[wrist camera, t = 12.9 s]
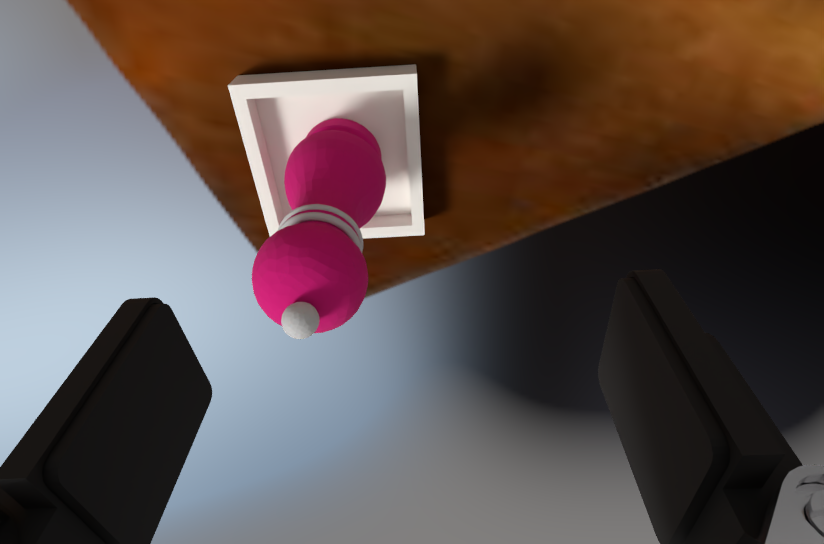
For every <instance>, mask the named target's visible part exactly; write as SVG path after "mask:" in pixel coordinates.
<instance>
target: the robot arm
mask: <svg viewBox="0 0 824 544" xmlns="http://www.w3.org/2000/svg"><path fill="white" fill-rule="evenodd" d="M598 377H599V383H600V386H601V389H602V391H603V394H604V397H605V399H606V402H607V405H608V407H609V410H610V413H611V415H612V418H613V421H614V424H615V426H616V429H617V432H618V434H619V437H620V440H621V442H622V445H623V448H624V450H625V453H626V456H627V458H628V461H629V464H630V467H631V469H632V472H633V475H634V477H635V480H636V483H637V485H638V488H639V491H640V493H641V496H642V499H643V501H644V504H645V507H646V509H647V512H648V515H649V517H650V520H651V523H652V525H653V528H654V531H655V534H656V536H657V538H658V541H659V542H660V544H824V466H821V465H815V464H814V465H805V466H803V465H802V463H801V462H800V461H799V459H798V458H797V456H796V455H795V453H794V452H793V450H792V449H791V447H790V446H789V445H788V443H787V442H786V440H785V438H784V437H783V436H782V434H781V433H780V431H779V430H778V428H777V427H776V426H775V424H774V422H773V421H772V419H771V418H770V416H769V415H768V413H767V412H766V411H765V409H764V408H763V406H762V405H761V403H760V402H759V400H758V399H757V397H756V396H755V394H754V393H753V391H752V390H751V389H750V387H749V386H748V384H747V383H746V381H745V380H744V378H743V377H742V375H741V374H740V372H739V371H738V370H737V368H736V366H735V365H734V364H733V362H732V361H731V359H730V358H729V356H728V355H727V353H726V352H725V350H724V349H723V348H722V346H721V345H720V343H719V342H718V341H717V340H716V338H714V336H712V335H710V334H708V333H704V331H703V329H702V328H701V326H700V325H699V323H698V322H697V320H696V319H695V317H694V316H693V314H692V313H691V311H690V310H689V308H688V307H687V305H686V304H685V302H684V301H683V299H682V298H681V296H680V295H679V293H678V292H677V290H676V289H675V287H674V286H673V284H672V283H671V281H670V280H669V278H668V277H667V275H666V274H665V273H664V271H662V270H660V269H657V270H639V271H630V272H629V273H628V275H627V277H626V278H625V279H620V280H619V281H618V284H617V288H616V292H615V297H614V301H613V306H612V310H611V315H610V319H609V323H608V327H607V332H606V336H605V341H604V345H603V349H602V354H601V359H600V363H599V367H598ZM211 397H212V388H211V385H210V382H209V380H208V379H207V376H206V375H205V373H204V371H203V369H202V367H201V365H200V363H199V361H198V359H197V357H196V355H195V354H194V352H193V350H192V348H191V346H190V344H189V342H188V340H187V338H186V336H185V334H184V332H183V330H182V328H181V326H180V325H179V323H178V321H177V319H176V317H175V315H174V313H173V311H172V309H171V308H170V306H169V305H167V304H163V302H162V301H161V300H160V299H158V298H138V299H129V300H126V301H125V302H124V303H123V304H122V305H121V307H120V308H119V309H118V310H117V312H116V313H115V314H114V316H113V317H112V318H111V320H110V321H109V323H108V324H107V325H106V327H105V328H104V329H103V330H102V332H101V333H100V334H99V336H98V337H97V339H96V340H95V341H94V343H93V344H92V345H91V347H90V348H89V349H88V351H87V352H86V353H85V355H84V356H83V357H82V359H81V360H80V361H79V363H78V364H77V365H76V367H75V368H74V369H73V371H72V372H71V373H70V375H69V376H68V378H67V379H66V380H65V381H64V383H63V384H62V385H61V387H60V388H59V389H58V391H57V392H56V393H55V395H54V396H53V397H52V399H51V400H50V401H49V403H48V404H47V405H46V407H45V408H44V410H43V411H42V412H41V414H40V415H39V416H38V417H37V419H36V420H35V421H34V423H33V424H32V425H31V427H30V428H29V429H28V431H27V432H26V434H25V435H24V436H23V438H22V439H21V440H20V442H19V443H18V445H17V446H16V447H15V448H14V450H13V451H12V452H11V454H10V455H9V456H8V458H7V459H6V460H5V462H4V463H3V464H2V466H1V467H0V544H150V543H151V541H152V538H153V536H154V534H155V531H156V529H157V527H158V524H159V522H160V519H161V517H162V515H163V512H164V510H165V508H166V505H167V503H168V500H169V498H170V496H171V494H172V491H173V488H174V486H175V484H176V482H177V479H178V477H179V475H180V472H181V470H182V468H183V465H184V463H185V460H186V458H187V456H188V453H189V451H190V449H191V446H192V444H193V442H194V439H195V437H196V434H197V432H198V429H199V427H200V425H201V423H202V420H203V418H204V416H205V413H206V411H207V409H208V406H209V404H210V401H211Z"/></svg>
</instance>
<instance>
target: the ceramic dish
mask: <svg viewBox="0 0 824 544" xmlns="http://www.w3.org/2000/svg"><path fill="white" fill-rule="evenodd" d="M228 88H229V92H230V95H231V99H232V102H233V106H234V110H235V113H236V117H237V120H238V124H239V128H240V131H241V135H242V138H243V142H244V146H245V149H246V153H247V156H248V160H249V164H250V167H251V171H252V174H253V178H254V181H255V185H256V189H257V192H258V196H259V199H260V203H261V207H262V210H263V214H264V217H265V221H266V225H267V228H268V232H269V235H270V236H272V235H273V234H274V233H275V232H277V231H278V228H279V225H280V223H281V221H282V220H283V218H284V217H285V216H286V215H287V214H288V213H289V212H291V211H292V209H291V207H290V205H289V202H288V199H287V196H286V192H285V184H284V177H285V169H286V165H287V161H288V159H289V156H290V154H291V153H292V151H293V149H294V148H295V147H296V146H297V145H298V144H299V143H300V142H301V141H302V140H303V139H305V138H306V136H307V135H308V133H309V132H310V131H311V129H312V128H313V127H315V126H316V125H317V124H319V123H321V122H323V121H326V120H329V119H334V118H343V119H349V120H352V121H355V122H357V123H359V124H361V125H363V126H364V127H366V128H367V129H368V130H369V131H370V132H371V133H372V134H373V136H374V137H375V138H376V140H377V142H378V144H379V147H380V150H381V158H382V163H383V166H384V169H385V174H386V188H385V193H384V197H383V200H382V203H381V205H380V207H379V209H378V210H377V212H376V213H375V215H374V216H373V217H372V218H371V220H370V221H369V222H368V223H366V224H365V225H364V226H362V227H361V228H360V231H361V234H362V238H379V237H398V236H416V235H425V232H424V212H423V191H422V170H421V149H420V128H419V107H418V87H417V68H416V64H413V65H397V66H381V67H365V68H349V69H333V70H317V71H301V72H285V73H269V74H253V75H238V76H237V77H236V78H235V79H234V80H233V81H232V82H231V83H230V84H229V85H228Z"/></svg>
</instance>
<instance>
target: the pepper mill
mask: <svg viewBox="0 0 824 544" xmlns="http://www.w3.org/2000/svg"><path fill="white" fill-rule="evenodd" d="M284 184H285V192H286V196H287V199H288V202H289V205H290V207H291V209H292V211H291V212H289V213H288V214H287V215H286V216H285V217H284V218H283V220H282V221H281V223H280V225H279V228H278V231H277V232H275V233H274V234H273V235H272V236H270V237H269V238H268V239H267V240H266V241H265V242H264V244H263V245H262V247H261V248H260V250H259V252H258V253H257V256H256V258H255V261H254V265H253V271H252V283H253V290H254V294H255V296H256V299H257V302H258V304H259V305H260V307H261V308H262V309H263V311H264V312H265V313H266V314H267V316H268V317H269V318H271V319H272V320H273V321H274V322H276V323H277V324H279V325H281V326H282V327H283V329H284V331H285V332H286V333H287V334H288V335H290V336H291V337H293V338H295V339H304V338H307V337H309V336H311V335H312V334H313V333H321V332H325V331H329V330H332V329H335V328H337V327H339V326H341V325H343V324H344V323H345V322H347V321H348V320H349V319H350V318H351V317H352V316H353V315H354V314H355V313H356V312H357V310H358V309H359V307H360V305H361V303H362V301H363V299H364V297H365V294H366V290H367V285H368V272H367V266H366V261H365V259H364V257H363V255H362V250H363V238H362V234H361V231H360V228H361V227H362V226H364V225H365V224H366V223H368V222H369V221H370V220H371V218H372V217H373V216H374V215H375V213H376V212H377V210H378V209H379V207H380V205H381V203H382V200H383V197H384V193H385V188H386V174H385V169H384V166H383V163H382V158H381V150H380V147H379V144H378V142H377V140H376V138H375V137H374V136H373V134H372V133H371V132H370V131H369V130H368V129H367V128H366V127H364V126H363V125H361V124H359V123H357V122H355V121H352V120H349V119H343V118H334V119H329V120H326V121H323V122H321V123H319V124H317V125H316V126H315V127H313V128H312V129H311V131H310V132H309V133H308V135H307V136H306V138H305V139H303V140H302V141H301V142H300V143H299V144H298V145H297V146H296V147H295V148H294V149H293V151H292V153H291V154H290V156H289V159H288V161H287V165H286V169H285V177H284Z"/></svg>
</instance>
